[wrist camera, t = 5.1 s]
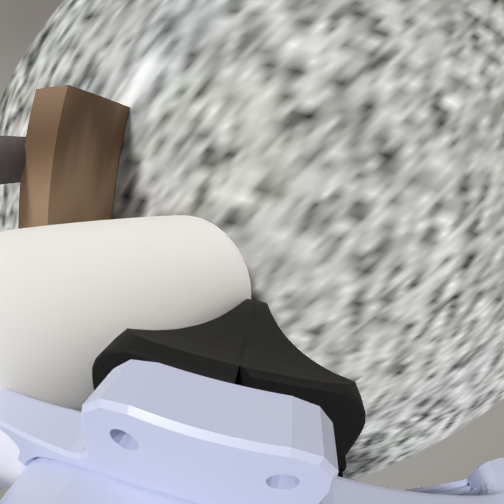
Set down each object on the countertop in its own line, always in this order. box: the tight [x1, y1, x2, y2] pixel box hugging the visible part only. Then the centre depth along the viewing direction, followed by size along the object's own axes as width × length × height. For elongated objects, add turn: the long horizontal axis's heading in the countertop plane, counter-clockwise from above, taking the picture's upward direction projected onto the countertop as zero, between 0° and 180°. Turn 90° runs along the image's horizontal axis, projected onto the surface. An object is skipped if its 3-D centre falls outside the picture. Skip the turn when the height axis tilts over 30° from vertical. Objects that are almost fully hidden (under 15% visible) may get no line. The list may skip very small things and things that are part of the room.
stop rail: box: [0, 85, 130, 229], centre depth 12 cm, size 16×4×7 cm, turn 168°
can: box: [0, 215, 251, 490], centre depth 8 cm, size 6×6×12 cm
